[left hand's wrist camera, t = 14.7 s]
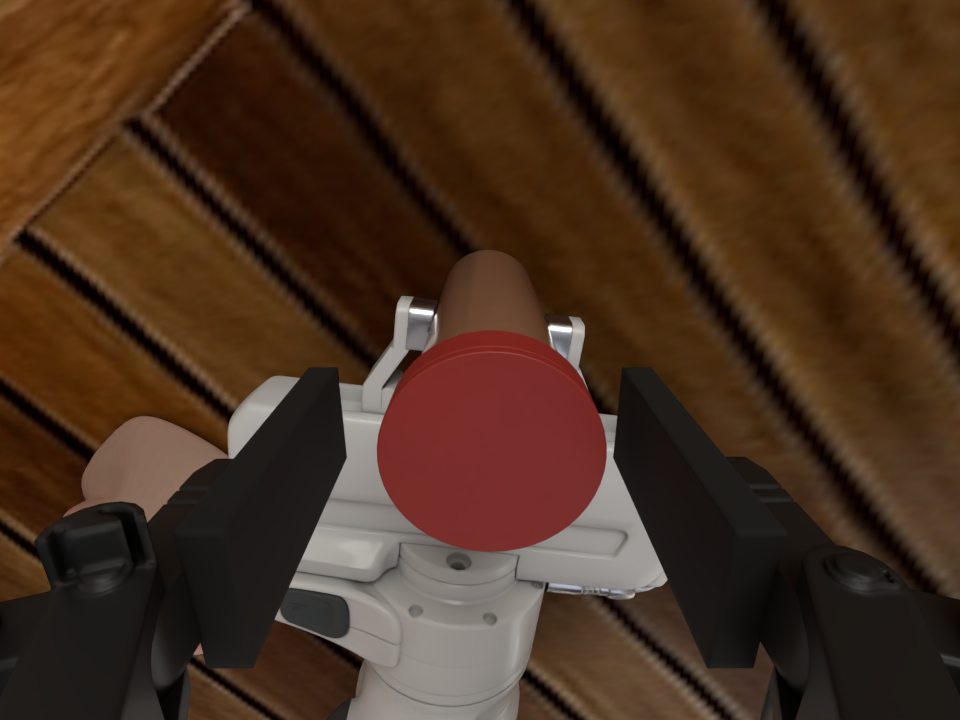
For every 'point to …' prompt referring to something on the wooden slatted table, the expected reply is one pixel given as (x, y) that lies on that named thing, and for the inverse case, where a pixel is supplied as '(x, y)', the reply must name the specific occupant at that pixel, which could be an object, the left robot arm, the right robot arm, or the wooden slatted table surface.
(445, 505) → the lid
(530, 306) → the jar
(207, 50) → the wooden slatted table surface
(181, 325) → the wooden slatted table surface
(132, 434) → the anatomical model
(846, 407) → the wooden slatted table surface
